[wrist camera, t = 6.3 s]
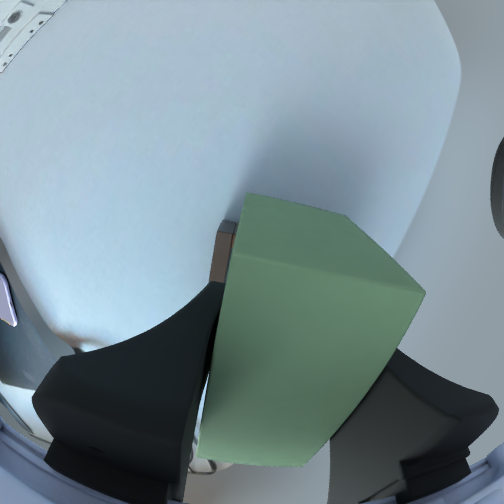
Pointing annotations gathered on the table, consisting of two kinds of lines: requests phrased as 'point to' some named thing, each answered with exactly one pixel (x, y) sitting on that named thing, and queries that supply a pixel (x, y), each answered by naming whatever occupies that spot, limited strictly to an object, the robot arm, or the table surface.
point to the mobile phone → (6, 303)
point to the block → (299, 332)
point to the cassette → (22, 24)
